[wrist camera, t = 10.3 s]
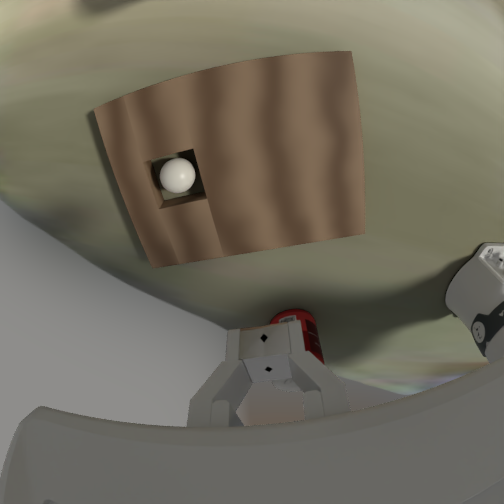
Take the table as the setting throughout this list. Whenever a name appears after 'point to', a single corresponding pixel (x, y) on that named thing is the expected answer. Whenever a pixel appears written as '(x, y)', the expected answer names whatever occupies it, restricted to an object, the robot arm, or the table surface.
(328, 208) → the board
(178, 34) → the table surface
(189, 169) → the ball
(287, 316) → the canned food
